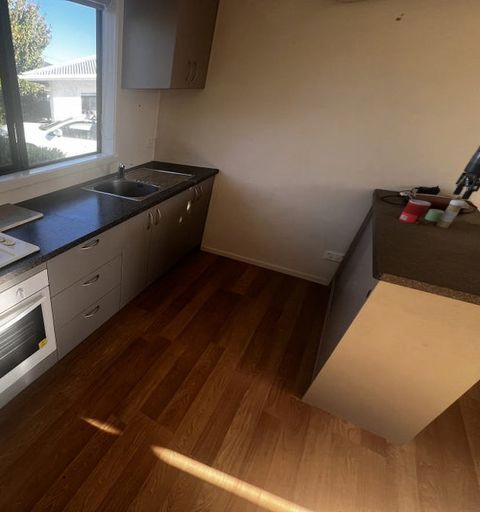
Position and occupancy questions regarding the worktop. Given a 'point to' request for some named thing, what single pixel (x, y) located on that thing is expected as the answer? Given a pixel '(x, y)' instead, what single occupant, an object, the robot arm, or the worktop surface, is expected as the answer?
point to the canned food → (414, 211)
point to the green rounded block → (434, 215)
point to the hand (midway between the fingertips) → (459, 196)
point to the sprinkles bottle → (450, 213)
